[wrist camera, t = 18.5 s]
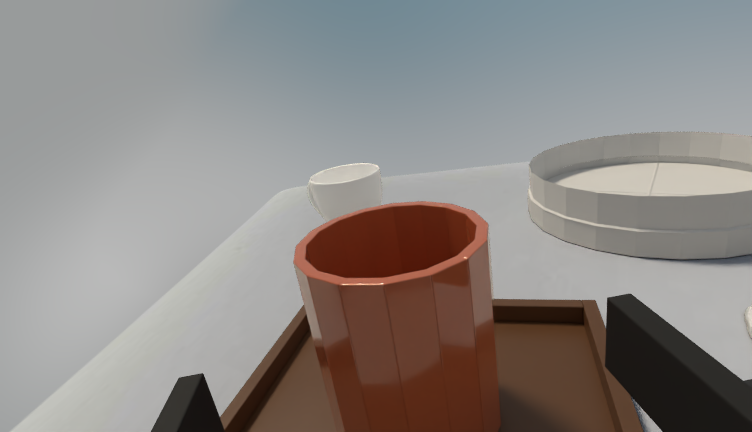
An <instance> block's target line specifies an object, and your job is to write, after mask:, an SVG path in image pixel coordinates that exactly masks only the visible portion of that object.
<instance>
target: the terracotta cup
mask: <svg viewBox="0 0 752 432" xmlns="http://www.w3.org/2000/svg"><path fill="white" fill-rule="evenodd" d="M293 263H294V267H295V271H296V275H297V278H298V282H299V286H300V290H301V294H302V298H303V302H304V306H305V310H306V314H307V318H308V322H309V326H310V330H311V334H312V337H313V341H314V345H315V349H316V353H317V357H318V361H319V365H320V369H321V373H322V377H323V381H324V385H325V389H326V392H327V396H328V400H329V404H330V408H331V412H332V416H333V420H334V424H335V428H336V432H500V431H501V422H502V417H501V392H500V378H499V364H498V350H497V336H496V322H495V308H494V294H493V280H492V266H491V252H490V238H489V225H488V223H487V222H486V221H485V220H484V219H483V218H482V217H480V216H479V215H478V214H477V213H476V212H475V211H473V210H469V209H466V208H463V207H460V206H457V205H454V204H448V203H436V202H425V201H424V202H423V201H420V202H404V203H393V204H392V203H391V204H386V205H381V206H375V207H370V208H365V209H361V210H358V211H355V212H352V213H349V214H346V215H343V216H340V217H337V218H335V219H332V220H330V221H329V222H327V223H325V224H323V225H321V226H319V227H318V228H316V229H314V230H312V231H311V232H309V233H308V234H307V235H306V236H305V237H304V238H303V239H302V240H301V241H300V243H299V244H298V245H297V246H296V249H295V255H294V262H293Z"/></svg>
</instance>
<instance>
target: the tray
mask: <svg viewBox="0 0 752 432" xmlns="http://www.w3.org/2000/svg"><path fill="white" fill-rule="evenodd" d="M494 308H495V322H496V336H497V350H498V364H499V378H500V392H501V417H502V422H501V431H500V432H644V431H643V429H642V426H641V423H640V420H639V418H638V415H637V412H636V409H635V407H634V404H633V401H632V399H631V396H630V394H629V393H628V392H627V391H626V390H625V389H624V387H623V386H622V385H621V384H620V383H619V382H618V381H617V380H616V378H615V377H614V376H613V375H612V374H611V373H610V372H609V371H608V369H607V368H606V367H605V350H606V328H605V325H604V322H603V320H602V317H601V314H600V311H599V309H598V306H597V303H596V301H595V300H582V301H581V300H524V299H494ZM220 420H221V422H222V425H223V427H224V430H225V432H336V428H335V424H334V420H333V416H332V412H331V408H330V404H329V400H328V396H327V392H326V389H325V385H324V381H323V377H322V373H321V369H320V365H319V361H318V357H317V353H316V349H315V345H314V341H313V337H312V334H311V330H310V326H309V322H308V318H307V314H306V310H305V306H304V305H303V306H302V308H301V309H300V310H299V312H298V313H297V315H296V316H295V317H294V319H293V320H292V321H291V323H290V324H289V325H288V327H287V328H286V329H285V331H284V332H283V333H282V335H281V336H280V337H279V339H278V340H277V341H276V343H275V344H274V345H273V347H272V348H271V350H270V351H269V352H268V354H267V355H266V356H265V358H264V359H263V360H262V362H261V363H260V364H259V366H258V367H257V368H256V370H255V371H254V372H253V374H252V375H251V376H250V378H249V379H248V380H247V382H246V383H245V385H244V386H243V387H242V389H241V390H240V391H239V393H238V394H237V395H236V397H235V398H234V399H233V401H232V402H231V403H230V405H229V406H228V407H227V409H226V410H225V411H224V413H223V414H222V415H221V417H220Z"/></svg>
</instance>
